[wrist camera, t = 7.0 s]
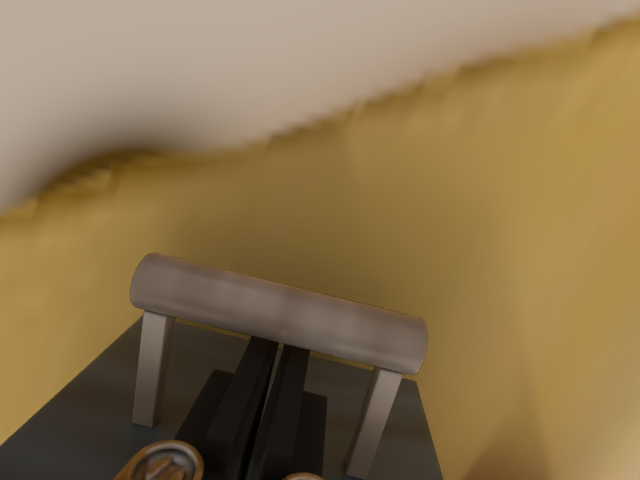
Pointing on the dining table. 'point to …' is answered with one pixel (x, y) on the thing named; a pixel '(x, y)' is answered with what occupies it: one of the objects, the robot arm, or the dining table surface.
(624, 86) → the dining table surface
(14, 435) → the drawer
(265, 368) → the robot arm
